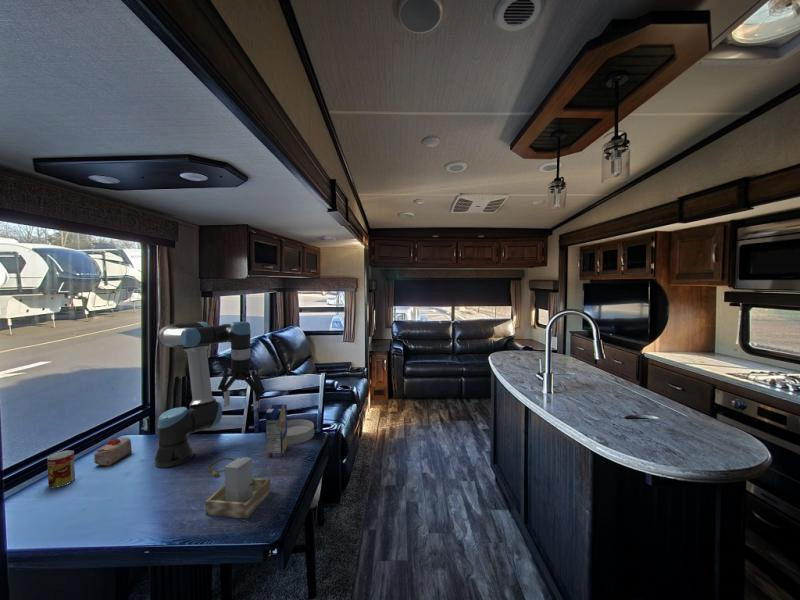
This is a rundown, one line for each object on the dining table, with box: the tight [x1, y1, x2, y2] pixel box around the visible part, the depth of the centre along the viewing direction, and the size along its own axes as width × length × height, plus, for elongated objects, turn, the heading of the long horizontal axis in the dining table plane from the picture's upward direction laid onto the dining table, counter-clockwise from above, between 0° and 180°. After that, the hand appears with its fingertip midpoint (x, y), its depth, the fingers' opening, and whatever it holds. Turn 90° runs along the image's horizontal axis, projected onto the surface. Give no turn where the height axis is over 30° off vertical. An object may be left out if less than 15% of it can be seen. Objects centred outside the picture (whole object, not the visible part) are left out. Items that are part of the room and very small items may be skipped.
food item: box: [93, 436, 133, 467], centre depth 161 cm, size 14×8×10 cm, turn 179°
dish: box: [287, 418, 315, 446], centre depth 187 cm, size 22×22×5 cm
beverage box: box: [265, 403, 288, 459], centre depth 168 cm, size 7×11×22 cm, turn 4°
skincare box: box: [224, 456, 253, 503], centre depth 129 cm, size 8×6×15 cm
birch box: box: [205, 477, 271, 519], centre depth 129 cm, size 16×16×5 cm
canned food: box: [46, 449, 76, 488], centre depth 142 cm, size 8×8×12 cm
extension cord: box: [207, 457, 235, 478], centre depth 154 cm, size 12×16×2 cm
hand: (241, 407), depth 146 cm, fingers open, 13 cm apart
